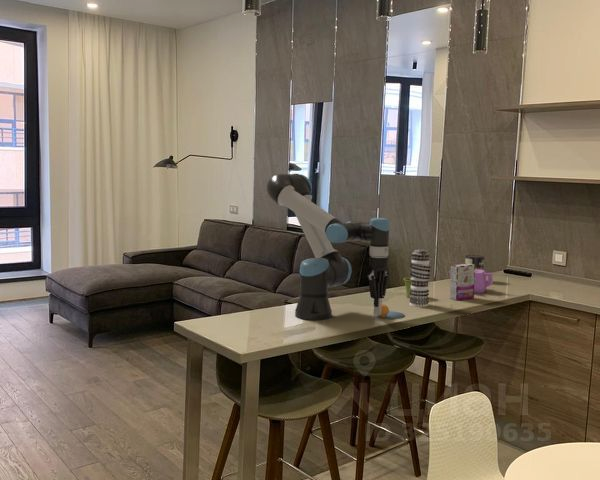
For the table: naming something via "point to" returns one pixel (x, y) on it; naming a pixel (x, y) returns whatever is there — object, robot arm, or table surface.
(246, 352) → the table surface
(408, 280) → the plant pot
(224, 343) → the table surface
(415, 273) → the decorative candle
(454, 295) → the candy bar box
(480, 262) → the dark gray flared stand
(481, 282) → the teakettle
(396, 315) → the disc
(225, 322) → the table surface
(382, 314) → the ball
